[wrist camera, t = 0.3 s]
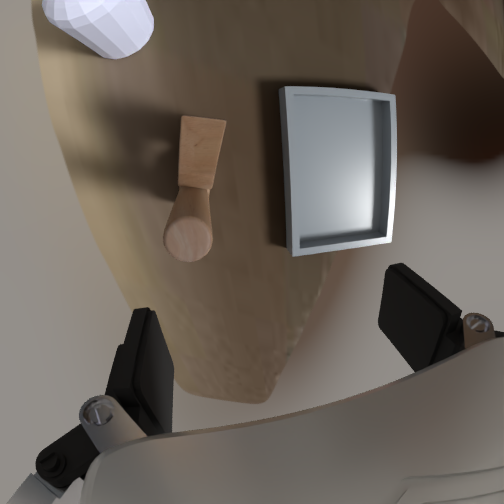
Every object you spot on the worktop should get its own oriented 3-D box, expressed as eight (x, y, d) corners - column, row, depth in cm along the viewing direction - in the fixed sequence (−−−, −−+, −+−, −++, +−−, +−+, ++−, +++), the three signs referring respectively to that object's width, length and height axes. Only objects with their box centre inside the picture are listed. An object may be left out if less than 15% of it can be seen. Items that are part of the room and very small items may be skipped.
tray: (278, 89, 33) (284, 86, 30) (383, 96, 35) (395, 95, 32) (286, 248, 42) (292, 256, 39) (381, 235, 44) (391, 242, 41)
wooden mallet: (218, 124, 34) (232, 116, 17) (206, 206, 38) (211, 268, 21) (188, 121, 33) (175, 110, 17) (178, 204, 37) (161, 264, 21)
